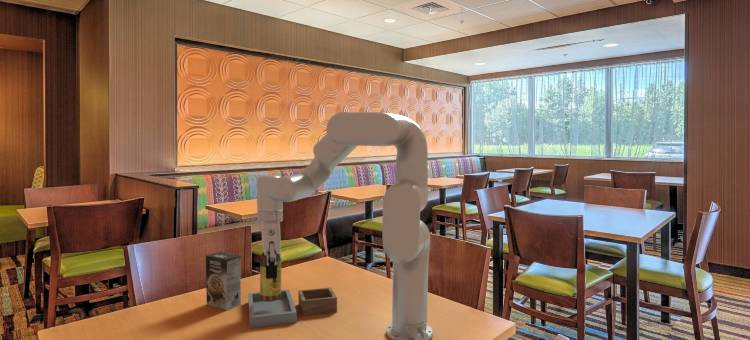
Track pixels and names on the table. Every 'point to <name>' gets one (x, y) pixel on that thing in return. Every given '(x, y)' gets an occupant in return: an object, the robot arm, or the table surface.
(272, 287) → the sauce bottle
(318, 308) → the open wooden box frame
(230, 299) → the coffee box
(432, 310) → the table surface
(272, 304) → the tray
